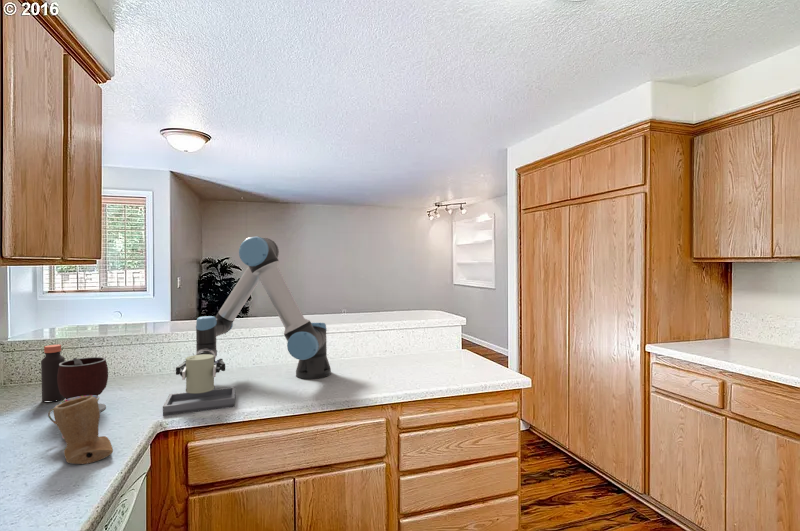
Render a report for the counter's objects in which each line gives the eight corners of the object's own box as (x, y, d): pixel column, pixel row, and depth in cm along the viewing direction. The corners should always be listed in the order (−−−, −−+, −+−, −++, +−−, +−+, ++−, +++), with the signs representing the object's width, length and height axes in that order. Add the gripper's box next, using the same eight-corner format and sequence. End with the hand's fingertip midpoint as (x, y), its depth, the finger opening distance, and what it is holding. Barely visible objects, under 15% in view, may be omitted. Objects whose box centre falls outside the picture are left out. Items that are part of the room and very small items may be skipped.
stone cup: (54, 452, 114) (53, 396, 114) (108, 440, 122) (107, 387, 121) (54, 474, 102) (52, 412, 102) (113, 459, 110) (112, 401, 110)
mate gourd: (66, 407, 150) (65, 350, 149) (113, 402, 155) (112, 347, 154) (49, 423, 135) (47, 360, 135) (101, 416, 140) (100, 356, 140)
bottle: (45, 398, 160) (44, 345, 160) (68, 395, 163) (66, 343, 163) (39, 403, 154) (37, 348, 154) (62, 401, 157) (60, 346, 157)
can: (181, 389, 151) (181, 355, 151) (207, 384, 158) (207, 351, 157) (191, 395, 145) (191, 360, 144) (219, 389, 151) (218, 355, 151)
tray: (235, 395, 161) (235, 387, 161) (234, 407, 148) (234, 398, 148) (169, 402, 154) (169, 394, 154) (162, 415, 141) (162, 406, 141)
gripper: (234, 367, 172) (232, 382, 150) (173, 372, 164) (163, 388, 143) (233, 348, 171) (232, 360, 150) (173, 352, 164) (163, 366, 143)
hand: (198, 374), depth 147 cm, fingers closed on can, 9 cm apart
